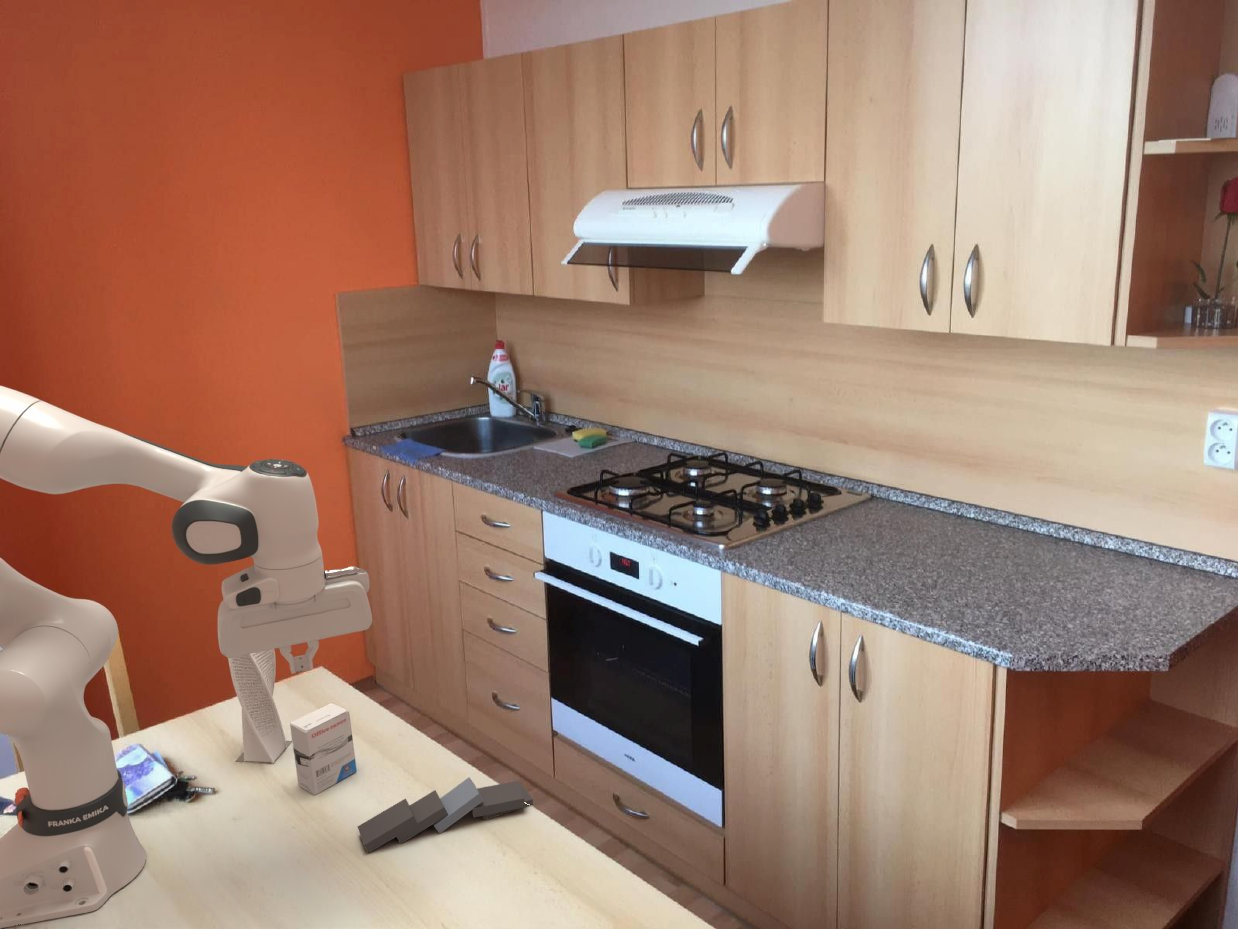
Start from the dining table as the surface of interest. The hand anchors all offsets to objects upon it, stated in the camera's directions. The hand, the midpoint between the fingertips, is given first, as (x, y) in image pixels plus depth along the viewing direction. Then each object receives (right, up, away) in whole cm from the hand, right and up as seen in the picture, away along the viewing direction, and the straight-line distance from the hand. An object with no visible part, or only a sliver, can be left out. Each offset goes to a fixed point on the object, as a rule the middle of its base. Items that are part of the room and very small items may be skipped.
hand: (301, 670), depth 144 cm
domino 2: (+10, -27, +12) cm, 31 cm away
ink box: (-4, -24, +28) cm, 37 cm away
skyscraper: (-17, -22, +36) cm, 45 cm away
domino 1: (+6, -27, +10) cm, 30 cm away
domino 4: (+21, -24, +17) cm, 36 cm away
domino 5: (+22, -25, +18) cm, 38 cm away
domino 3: (+16, -26, +14) cm, 34 cm away
